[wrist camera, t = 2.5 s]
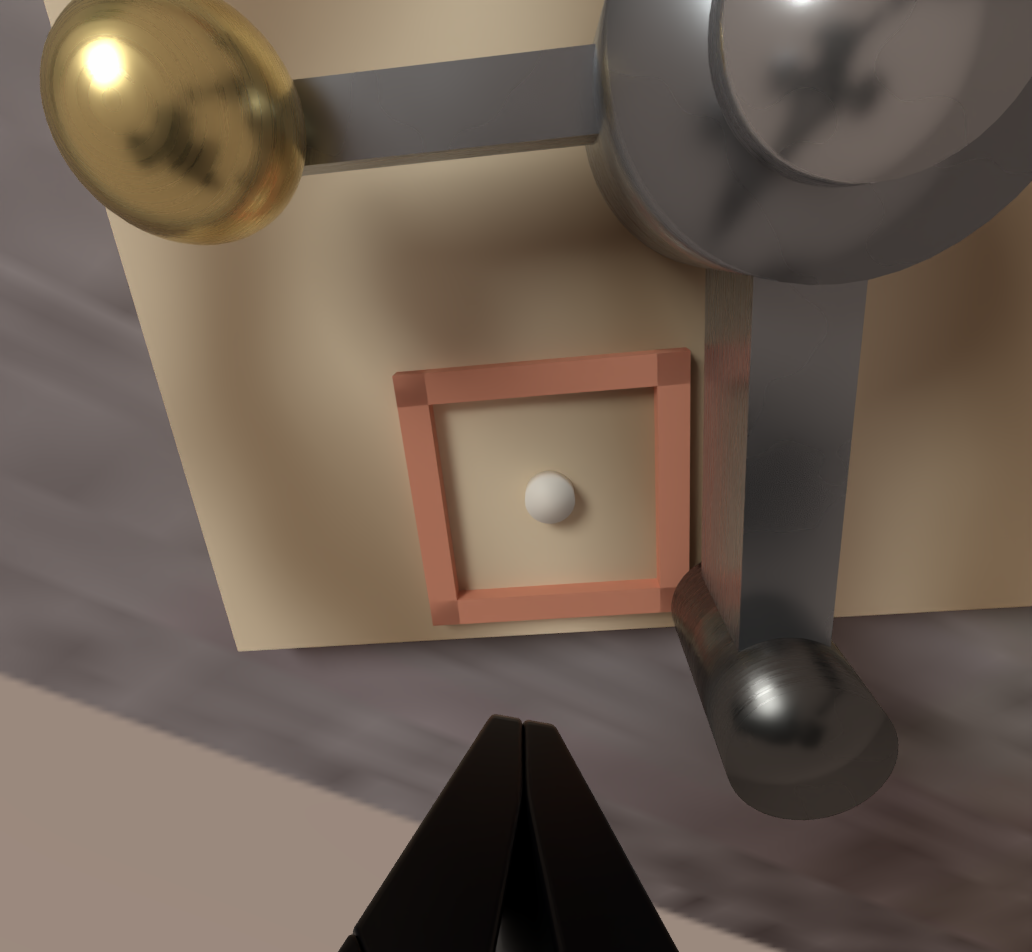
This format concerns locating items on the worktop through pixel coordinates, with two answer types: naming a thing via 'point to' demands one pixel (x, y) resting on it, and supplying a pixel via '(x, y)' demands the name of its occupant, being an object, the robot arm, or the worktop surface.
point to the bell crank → (660, 226)
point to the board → (535, 336)
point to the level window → (550, 481)
